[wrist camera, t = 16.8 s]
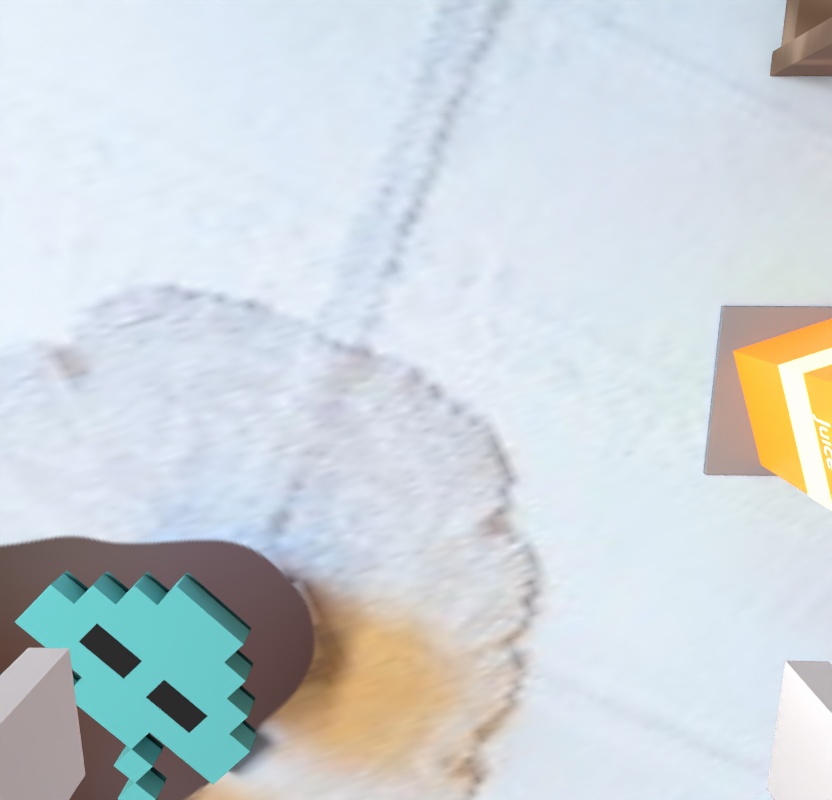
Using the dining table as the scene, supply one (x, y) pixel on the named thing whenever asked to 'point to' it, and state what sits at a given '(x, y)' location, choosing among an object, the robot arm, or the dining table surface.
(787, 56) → the walnut rack
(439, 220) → the dining table surface
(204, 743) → the alien figure
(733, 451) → the grey mat
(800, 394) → the orange juice
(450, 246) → the dining table surface
